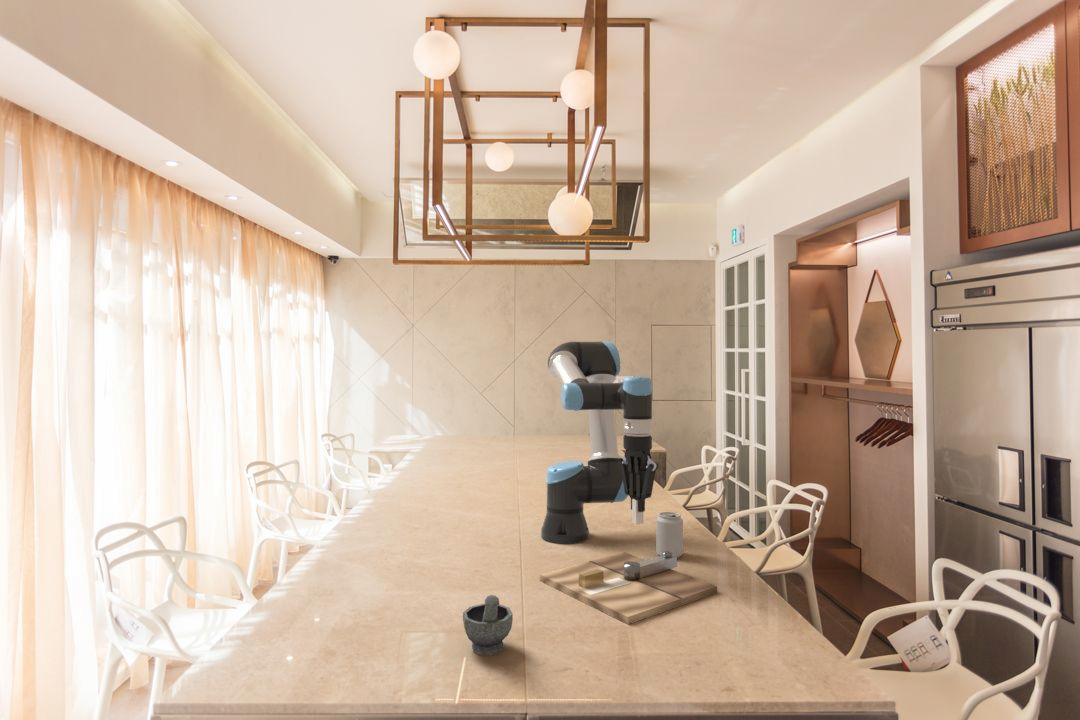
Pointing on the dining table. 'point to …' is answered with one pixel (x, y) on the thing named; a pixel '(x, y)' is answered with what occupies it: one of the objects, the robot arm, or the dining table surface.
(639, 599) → the door board
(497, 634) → the mortar and pestle
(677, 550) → the can
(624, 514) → the dining table surface
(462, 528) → the dining table surface
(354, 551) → the dining table surface
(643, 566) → the bar
